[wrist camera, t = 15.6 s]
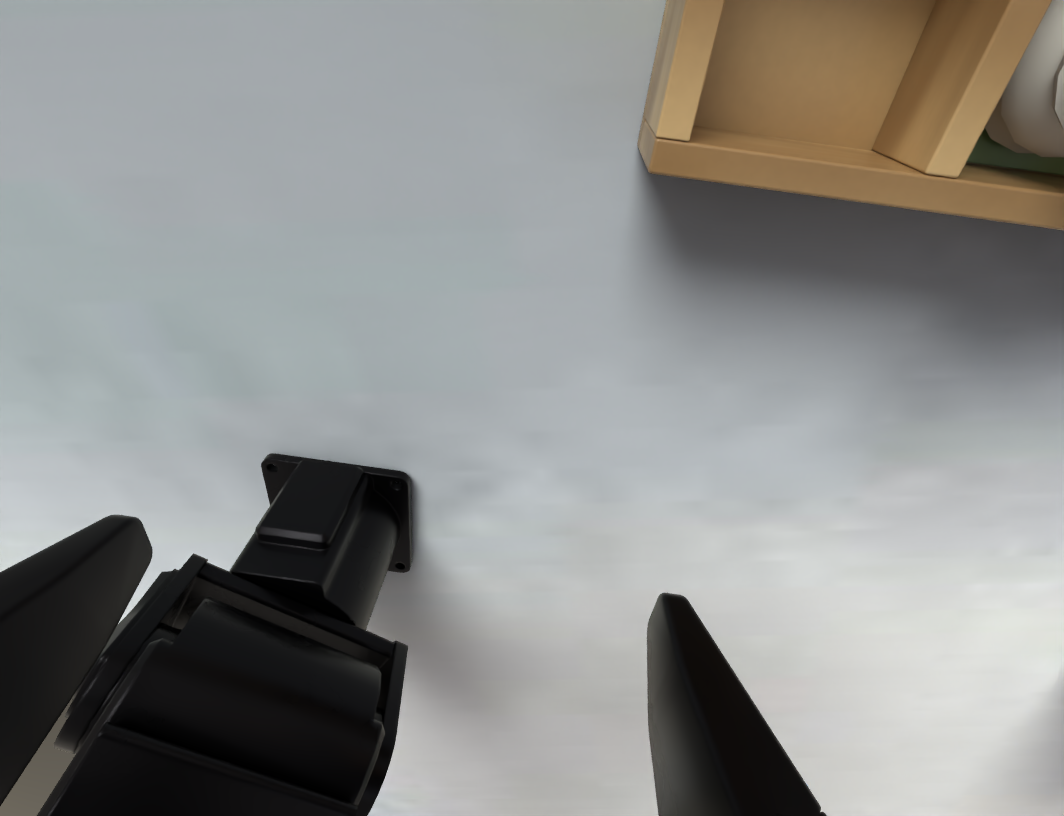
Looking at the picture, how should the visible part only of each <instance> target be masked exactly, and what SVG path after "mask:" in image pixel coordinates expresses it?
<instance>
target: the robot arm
mask: <svg viewBox="0 0 1064 816" xmlns="http://www.w3.org/2000/svg"><path fill="white" fill-rule="evenodd" d="M273 464H274V465H273ZM275 465H276V466H275ZM261 468H262V472H263V476H264V481H265V485H266V489H267V493H268V498H269V502H270V507H269V508H268V510H267V511H266V513H265V515H264V516H263V518H262V519H261V521H260V522H259V524H258V525H257V527H256V530H255V532H254V534H253V535H252V537H251V539H250V540H249V542H248V543H247V545H246V546H245V548H244V549H243V551H242V552H241V554H240V555H239V557H238V559H237V560H236V562H235V563H234V565H233V566H232V568H231V569H230V571H226V570H224V569H222V568H219V567H217V566H215V565H212V564H210V563H208V562H207V561H208V559H205V558H203V557H201V556H198V555H196V554H193V555H192V556H191V557H190V558H189V559H188V561H187V562H186V563H185V564H184V565H183V567H182V568H181V569H179V570H176V569H174V570H173V571H169V572H162V573H161V574H160V575H159V576H158V578H157V579H156V580H155V582H154V583H153V584H152V585H151V587H150V588H149V589H148V591H147V592H146V593H145V595H144V596H143V597H142V598H141V600H140V601H139V602H138V603H137V605H136V606H135V607H134V608H133V609H132V610H131V612H130V613H129V614H128V615H127V616H126V617H125V618H124V619H123V620H122V621H121V622H120V623H119V621H120V619H121V617H122V615H123V613H124V611H125V609H126V607H127V606H128V604H129V602H130V600H131V598H132V596H133V594H134V592H135V590H136V589H137V587H138V585H139V583H140V581H141V579H142V577H143V575H144V573H145V572H146V570H147V568H148V566H149V564H150V562H151V558H152V546H151V544H150V541H149V539H148V536H147V534H146V531H145V529H144V527H143V524H142V522H141V521H140V520H139V519H138V518H136V517H131V516H124V515H110V516H108V517H105V518H103V519H101V520H99V521H98V522H96V523H94V524H92V525H90V526H88V527H86V528H84V529H82V530H80V531H78V532H76V533H75V534H73V535H71V536H69V537H67V538H65V539H63V540H61V541H59V542H57V543H55V544H54V545H52V546H50V547H48V548H46V549H44V550H42V551H40V552H38V553H36V554H34V555H32V556H31V557H29V558H27V559H25V560H23V561H21V562H19V563H17V564H15V565H13V566H11V567H10V568H8V569H6V570H4V571H2V572H0V806H1V804H2V803H3V801H4V799H5V798H6V797H7V795H8V794H9V792H10V790H11V789H12V788H13V786H14V784H15V783H16V782H17V780H18V778H19V777H20V776H21V774H22V773H23V771H24V769H25V768H26V766H27V765H28V763H29V762H30V760H31V759H32V757H33V756H34V754H35V753H36V751H37V750H38V748H39V747H40V745H41V744H42V742H43V741H44V739H45V738H46V736H47V735H48V733H49V732H50V730H51V729H52V727H53V725H54V724H55V722H56V721H57V719H58V718H59V717H60V715H61V713H62V712H63V710H64V709H65V707H66V706H67V704H68V703H69V701H70V700H71V698H72V699H73V702H72V703H71V705H70V707H69V709H68V711H67V713H66V716H65V717H66V718H68V719H67V720H66V722H65V724H64V726H63V727H62V729H61V731H60V733H59V735H58V736H57V739H56V741H55V743H54V748H56V749H60V750H63V751H66V752H69V753H72V754H75V753H76V755H75V757H74V758H73V760H72V761H71V763H70V765H69V766H68V768H67V769H66V771H65V772H64V774H63V776H62V777H61V779H60V780H59V782H58V783H57V785H56V786H55V788H54V790H53V791H52V793H51V794H50V796H49V798H48V799H47V801H46V802H45V804H44V805H43V807H42V808H41V810H40V812H39V813H38V815H37V816H367V815H368V813H369V812H370V810H371V808H372V806H373V804H374V802H375V800H376V798H377V796H378V793H379V791H380V788H381V786H382V784H383V781H384V779H385V776H386V773H387V770H388V767H389V764H390V761H391V757H392V753H393V749H394V745H395V740H396V734H397V727H398V719H399V712H400V704H401V696H402V689H403V681H404V674H405V666H406V658H407V651H408V646H407V645H405V644H403V643H400V642H398V641H394V642H392V641H389V640H387V639H385V638H382V637H380V636H378V635H375V634H373V633H371V632H368V631H366V628H367V626H368V623H369V620H370V617H371V614H372V612H373V609H374V606H375V603H376V601H377V598H378V595H379V592H380V590H381V587H382V584H383V581H384V579H385V576H386V573H387V571H394V572H403V573H404V572H408V571H409V570H410V567H411V564H412V526H411V481H410V477H409V476H408V475H407V474H406V473H404V472H401V471H396V470H389V469H382V468H375V467H368V466H360V465H353V464H346V463H339V462H332V461H324V460H317V459H310V458H303V457H296V456H288V455H281V454H269V455H267V456H266V458H265V459H264V461H263V462H262V463H261ZM395 481H398V482H400V483H397V482H395ZM118 623H119V624H118ZM647 678H648V726H649V737H650V746H651V755H652V763H653V772H654V780H655V789H656V797H657V806H658V814H659V816H827V815H826V814H825V813H824V812H820V811H821V807H820V805H819V803H818V802H817V800H816V799H815V797H814V796H813V794H812V792H811V791H810V789H809V788H808V786H807V785H806V783H805V782H804V780H803V778H802V777H801V775H800V774H799V772H798V771H797V769H796V768H795V766H794V764H793V763H792V761H791V760H790V758H789V757H788V755H787V754H786V752H785V750H784V749H783V747H782V746H781V744H780V743H779V741H778V740H777V738H776V736H775V735H774V733H773V732H772V730H771V729H770V727H769V726H768V724H767V722H766V721H765V719H764V718H763V716H762V715H761V713H760V712H759V710H758V708H757V707H756V705H755V704H754V702H753V701H752V699H751V698H750V696H749V695H748V693H747V691H746V690H745V688H744V687H743V685H742V684H741V682H740V681H739V679H738V677H737V676H736V674H735V673H734V671H733V670H732V668H731V667H730V665H729V663H728V662H727V660H726V659H725V657H724V656H723V654H722V653H721V651H720V649H719V648H718V646H717V645H716V643H715V642H714V640H713V639H712V637H711V635H710V634H709V632H708V631H707V629H706V628H705V626H704V625H703V623H702V621H701V620H700V618H699V617H698V615H697V614H696V612H695V611H694V609H693V607H692V606H691V604H690V603H689V601H688V600H687V599H686V598H685V597H684V596H682V595H677V594H670V593H662V594H660V595H659V597H658V599H657V602H656V604H655V606H654V609H653V611H652V614H651V616H650V619H649V622H648V628H647Z"/></svg>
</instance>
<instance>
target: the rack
mask: <svg viewBox="0 0 1064 816" xmlns="http://www.w3.org/2000/svg"><path fill="white" fill-rule="evenodd" d="M1051 2H1052V0H667V1H666V6H665V10H664V15H663V20H662V25H661V30H660V35H659V40H658V45H657V50H656V55H655V59H654V64H653V69H652V74H651V79H650V84H649V89H648V94H647V99H646V104H645V108H644V113H643V118H642V123H641V128H640V133H639V138H638V143H637V145H638V148H639V150H640V153H641V155H642V157H643V160H644V162H645V165H646V167H647V170H648V172H649V173H651V174H657V175H665V176H672V177H679V178H686V179H694V180H701V181H708V182H715V183H723V184H730V185H737V186H744V187H752V188H759V189H766V190H773V191H781V192H788V193H795V194H802V195H810V196H817V197H824V198H831V199H839V200H846V201H853V202H860V203H868V204H875V205H882V206H889V207H897V208H904V209H911V210H918V211H926V212H933V213H940V214H948V215H955V216H962V217H969V218H977V219H984V220H991V221H998V222H1006V223H1013V224H1020V225H1027V226H1035V227H1042V228H1049V229H1056V230H1064V157H1040V156H1039V155H1037V154H1035V153H1016V152H1014V151H1012V150H1010V149H1009V148H1007V147H1005V146H1003V145H1001V144H999V143H998V142H996V141H994V140H992V139H991V138H990V136H989V135H988V133H987V131H986V129H985V126H986V124H987V122H988V120H989V118H990V117H991V115H992V113H993V111H994V109H995V107H996V105H997V103H998V102H999V100H1000V98H1001V96H1002V94H1003V92H1004V90H1005V88H1006V87H1007V85H1008V83H1009V81H1010V79H1011V77H1012V75H1013V73H1014V71H1015V70H1016V68H1017V66H1018V64H1019V62H1020V60H1021V58H1022V56H1023V55H1024V53H1025V51H1026V49H1027V47H1028V45H1029V43H1030V41H1031V39H1032V38H1033V36H1034V34H1035V32H1036V30H1037V28H1038V26H1039V24H1040V23H1041V21H1042V19H1043V17H1044V15H1045V13H1046V11H1047V9H1048V8H1049V6H1050V4H1051Z"/></svg>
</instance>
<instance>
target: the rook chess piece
mask: <svg viewBox="0 0 1064 816" xmlns="http://www.w3.org/2000/svg"><path fill="white" fill-rule="evenodd" d="M985 129H986V131H987V133H988V135H989V136H990V138H991V139H992V140H994V141H996V142H998V143H999V144H1001V145H1003V146H1005V147H1007V148H1009V149H1010V150H1012V151H1014V152H1016V153H1035V154H1037V155H1039V156H1040V157H1064V0H1052V2H1051V4H1050V6H1049V8H1048V9H1047V11H1046V13H1045V15H1044V17H1043V19H1042V21H1041V23H1040V24H1039V26H1038V28H1037V30H1036V32H1035V34H1034V36H1033V38H1032V39H1031V41H1030V43H1029V45H1028V47H1027V49H1026V51H1025V53H1024V55H1023V56H1022V58H1021V60H1020V62H1019V64H1018V66H1017V68H1016V70H1015V71H1014V73H1013V75H1012V77H1011V79H1010V81H1009V83H1008V85H1007V87H1006V88H1005V90H1004V92H1003V94H1002V96H1001V98H1000V100H999V102H998V103H997V105H996V107H995V109H994V111H993V113H992V115H991V117H990V118H989V120H988V122H987V124H986V126H985Z"/></svg>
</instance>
